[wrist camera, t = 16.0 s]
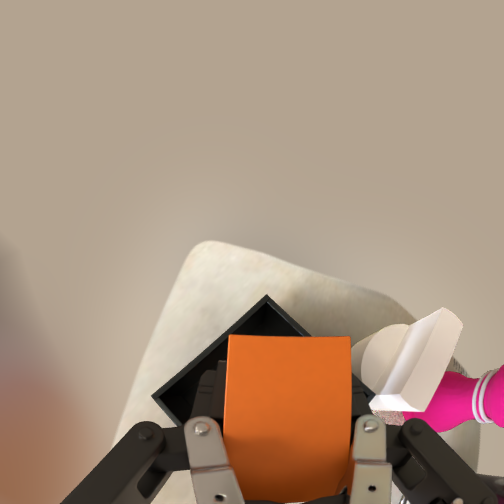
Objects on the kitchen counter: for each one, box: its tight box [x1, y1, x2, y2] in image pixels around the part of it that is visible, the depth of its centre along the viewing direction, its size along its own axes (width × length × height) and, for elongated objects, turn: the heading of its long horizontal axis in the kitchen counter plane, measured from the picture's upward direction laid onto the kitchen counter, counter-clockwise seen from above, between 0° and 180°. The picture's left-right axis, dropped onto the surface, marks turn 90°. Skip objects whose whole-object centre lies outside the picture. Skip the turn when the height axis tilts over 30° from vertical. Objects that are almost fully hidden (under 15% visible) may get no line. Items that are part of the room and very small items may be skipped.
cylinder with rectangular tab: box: [351, 307, 463, 412], centre depth 22 cm, size 9×9×12 cm
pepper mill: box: [402, 365, 504, 432], centre depth 16 cm, size 7×7×20 cm
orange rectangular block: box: [223, 334, 352, 503], centre depth 12 cm, size 4×6×10 cm
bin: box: [151, 294, 376, 427], centre depth 23 cm, size 13×13×9 cm
